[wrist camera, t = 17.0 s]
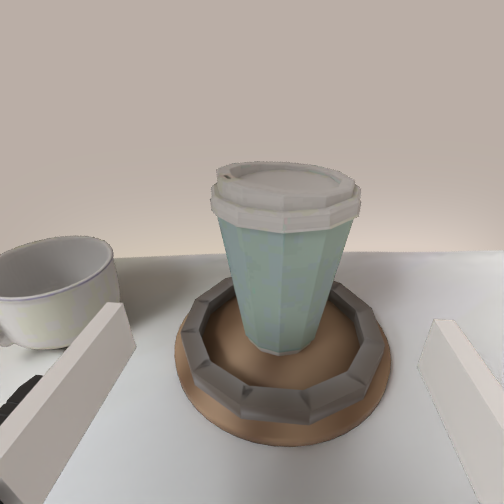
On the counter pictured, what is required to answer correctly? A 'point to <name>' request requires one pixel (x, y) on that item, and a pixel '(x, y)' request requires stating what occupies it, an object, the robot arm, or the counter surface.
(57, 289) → the teacup
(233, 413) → the ring board
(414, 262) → the counter surface
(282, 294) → the disposable coffee cup
